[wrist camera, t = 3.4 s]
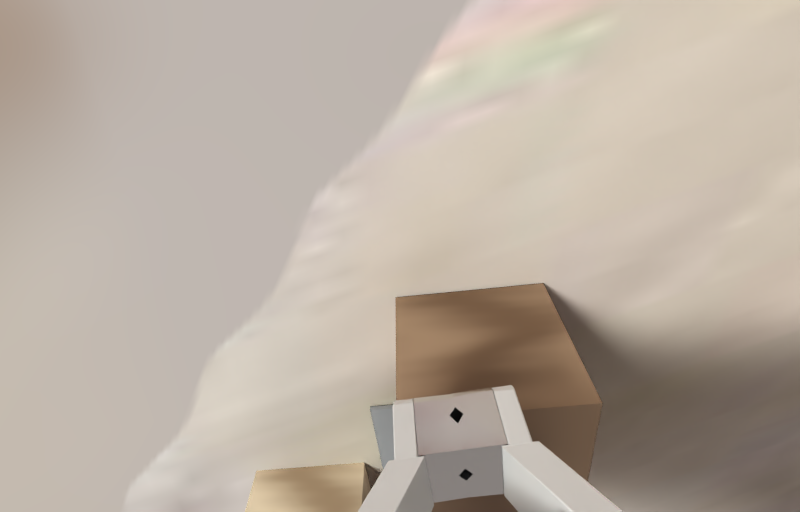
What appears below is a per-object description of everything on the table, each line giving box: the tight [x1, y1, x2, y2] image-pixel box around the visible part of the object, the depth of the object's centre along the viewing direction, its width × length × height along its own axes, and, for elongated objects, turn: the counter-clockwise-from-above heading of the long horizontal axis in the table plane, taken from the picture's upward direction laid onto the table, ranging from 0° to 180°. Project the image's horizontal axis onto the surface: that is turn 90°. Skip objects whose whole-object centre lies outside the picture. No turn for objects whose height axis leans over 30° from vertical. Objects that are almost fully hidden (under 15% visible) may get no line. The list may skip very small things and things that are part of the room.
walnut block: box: [396, 283, 603, 512], centre depth 17 cm, size 6×6×6 cm
